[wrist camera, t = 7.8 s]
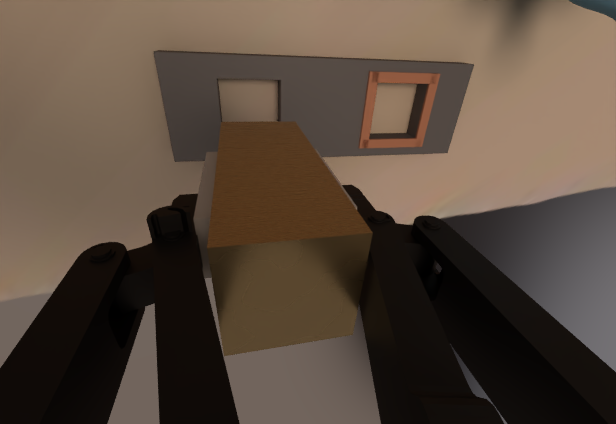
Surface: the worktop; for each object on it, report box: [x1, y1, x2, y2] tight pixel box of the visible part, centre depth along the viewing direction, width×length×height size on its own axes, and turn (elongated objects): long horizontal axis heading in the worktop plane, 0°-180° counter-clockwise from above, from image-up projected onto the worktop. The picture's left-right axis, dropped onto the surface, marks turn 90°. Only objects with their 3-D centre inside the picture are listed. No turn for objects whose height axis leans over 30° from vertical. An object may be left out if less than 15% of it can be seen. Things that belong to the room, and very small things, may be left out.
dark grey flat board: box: [154, 50, 474, 162], centre depth 32 cm, size 32×10×2 cm, turn 87°
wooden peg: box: [207, 122, 373, 356], centre depth 14 cm, size 4×4×12 cm
